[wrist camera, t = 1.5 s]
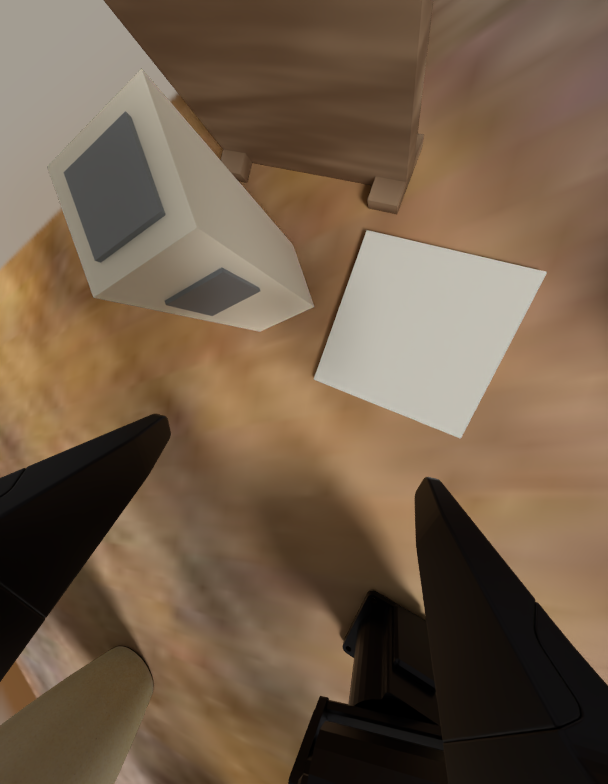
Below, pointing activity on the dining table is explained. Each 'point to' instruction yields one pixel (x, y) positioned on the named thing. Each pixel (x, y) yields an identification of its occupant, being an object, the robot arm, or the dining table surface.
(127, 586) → the dining table surface
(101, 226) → the cream block grey panels
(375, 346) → the felt pad
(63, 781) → the plant pot
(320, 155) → the walnut screen
